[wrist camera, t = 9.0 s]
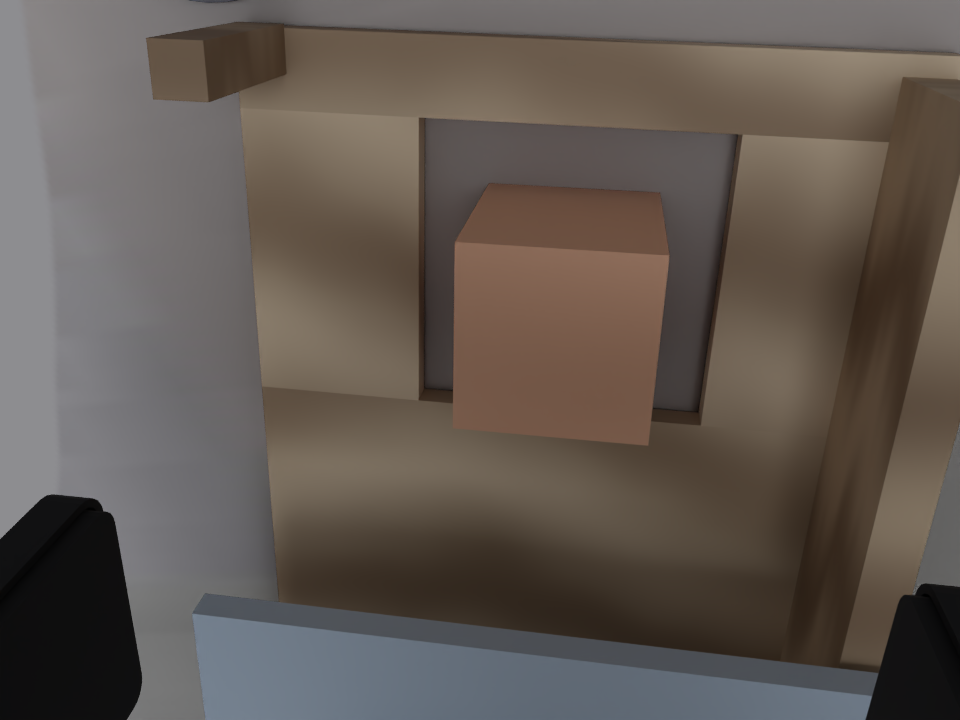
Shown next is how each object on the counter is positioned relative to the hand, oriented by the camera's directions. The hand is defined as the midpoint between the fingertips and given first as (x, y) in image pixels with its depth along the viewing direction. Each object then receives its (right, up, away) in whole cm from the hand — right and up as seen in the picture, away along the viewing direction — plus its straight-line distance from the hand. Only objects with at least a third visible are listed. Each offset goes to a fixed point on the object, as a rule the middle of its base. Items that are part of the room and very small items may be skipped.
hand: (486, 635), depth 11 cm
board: (+2, 0, +17) cm, 17 cm away
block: (+2, +6, +14) cm, 15 cm away
